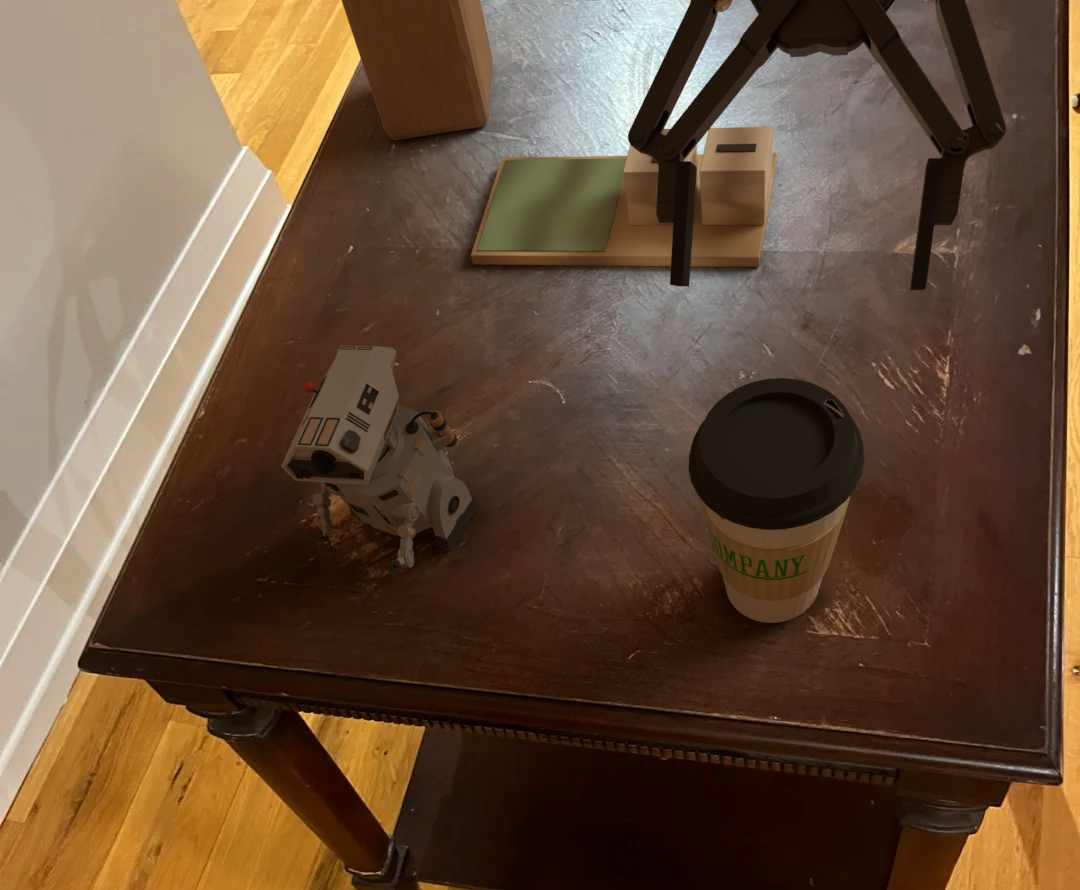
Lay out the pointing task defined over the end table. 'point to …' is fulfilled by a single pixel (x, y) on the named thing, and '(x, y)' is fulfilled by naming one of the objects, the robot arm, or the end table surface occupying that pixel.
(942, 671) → the end table surface
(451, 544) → the figurine
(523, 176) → the word board
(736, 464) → the coffee cup
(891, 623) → the end table surface
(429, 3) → the wooden block
